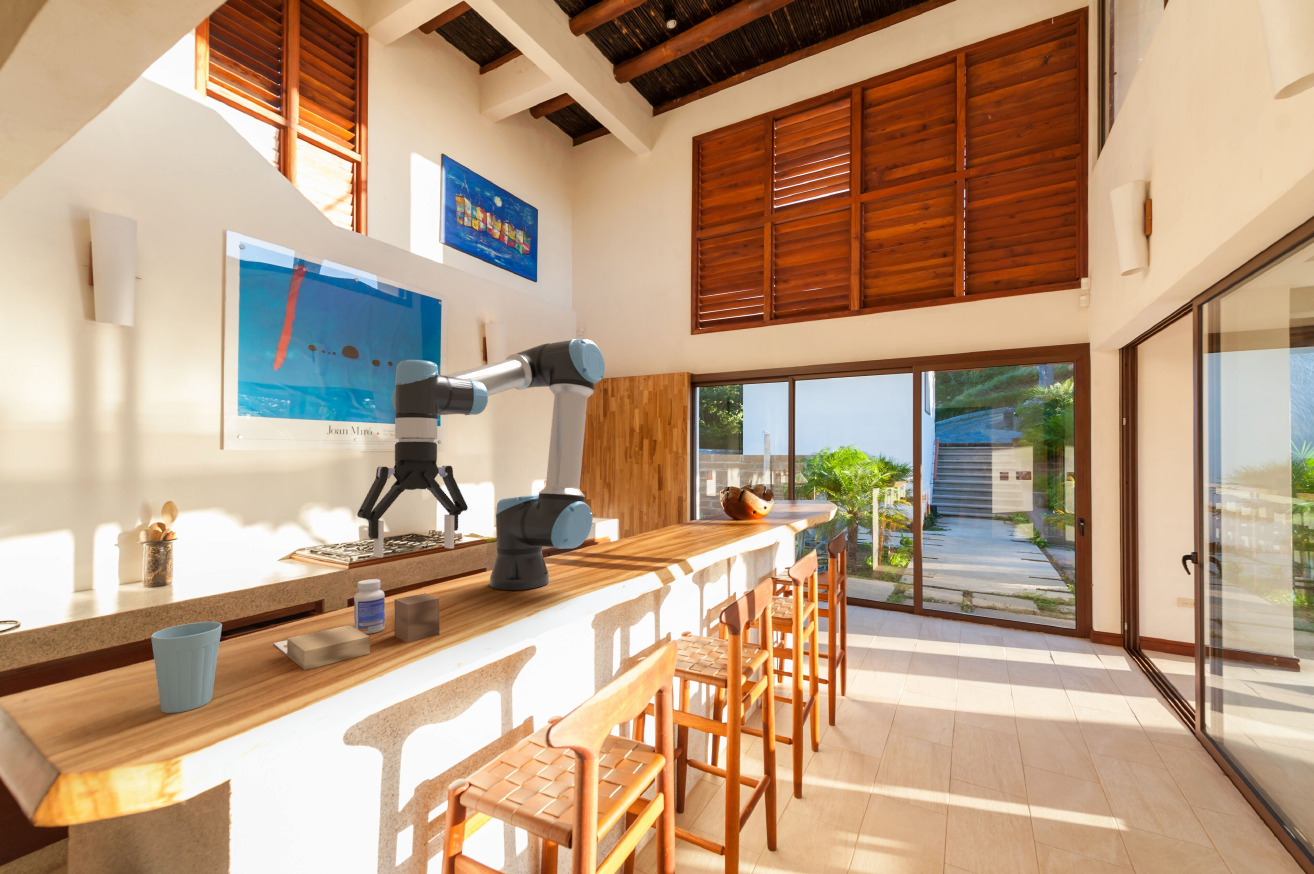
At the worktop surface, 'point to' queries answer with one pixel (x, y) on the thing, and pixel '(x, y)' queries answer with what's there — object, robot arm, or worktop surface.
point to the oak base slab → (327, 646)
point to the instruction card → (282, 646)
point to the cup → (186, 664)
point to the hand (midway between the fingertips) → (415, 552)
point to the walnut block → (416, 617)
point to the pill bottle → (369, 607)
